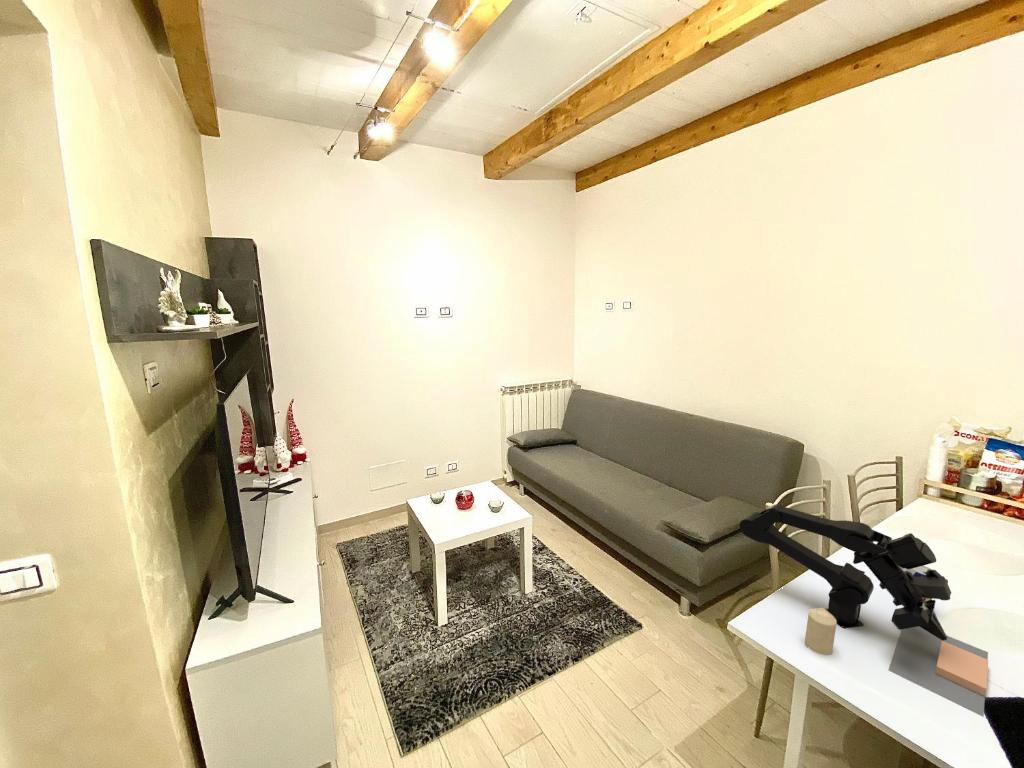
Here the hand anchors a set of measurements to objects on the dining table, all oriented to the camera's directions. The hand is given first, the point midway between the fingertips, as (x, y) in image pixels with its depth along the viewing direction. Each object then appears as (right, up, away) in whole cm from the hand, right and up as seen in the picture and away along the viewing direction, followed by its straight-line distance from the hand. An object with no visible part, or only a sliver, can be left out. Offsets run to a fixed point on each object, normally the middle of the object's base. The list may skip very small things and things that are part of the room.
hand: (944, 639), depth 96 cm
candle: (-25, -6, +6) cm, 26 cm away
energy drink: (+11, -3, +18) cm, 22 cm away
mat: (0, -6, +1) cm, 6 cm away
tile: (0, -5, +1) cm, 5 cm away
